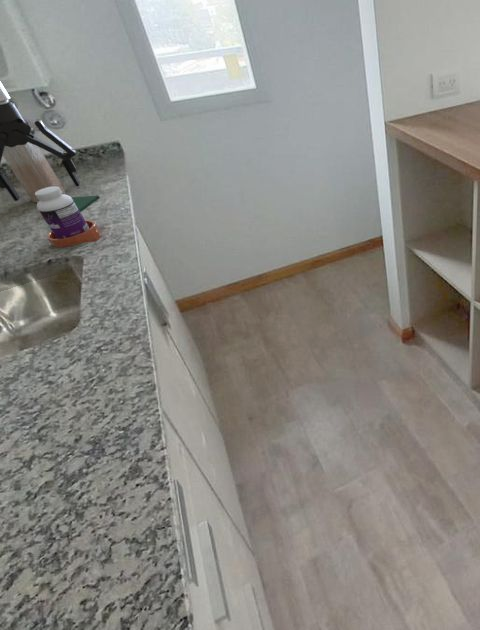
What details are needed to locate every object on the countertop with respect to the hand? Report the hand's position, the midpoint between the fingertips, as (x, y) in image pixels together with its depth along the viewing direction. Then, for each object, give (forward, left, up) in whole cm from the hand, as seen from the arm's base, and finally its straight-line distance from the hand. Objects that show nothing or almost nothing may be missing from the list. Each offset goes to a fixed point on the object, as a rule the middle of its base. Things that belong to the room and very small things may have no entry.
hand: (48, 191), depth 114 cm
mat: (-18, +26, -14) cm, 35 cm away
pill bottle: (0, 0, -14) cm, 14 cm away
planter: (-32, +36, -15) cm, 50 cm away
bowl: (0, 0, -14) cm, 14 cm away
